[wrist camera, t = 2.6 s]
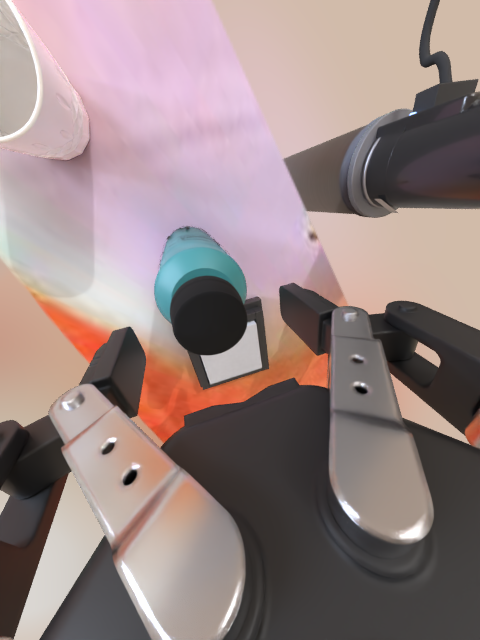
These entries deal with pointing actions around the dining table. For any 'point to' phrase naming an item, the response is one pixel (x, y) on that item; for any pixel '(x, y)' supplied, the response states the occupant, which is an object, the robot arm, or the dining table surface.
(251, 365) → the pan
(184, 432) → the robot arm
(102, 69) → the dining table surface
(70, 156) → the white cup
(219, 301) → the beverage bottle
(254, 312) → the scale
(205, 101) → the dining table surface
